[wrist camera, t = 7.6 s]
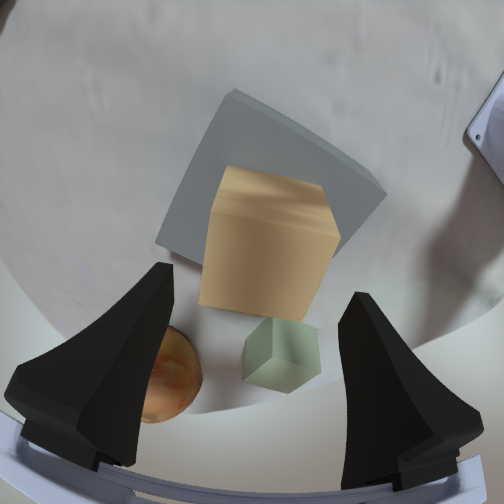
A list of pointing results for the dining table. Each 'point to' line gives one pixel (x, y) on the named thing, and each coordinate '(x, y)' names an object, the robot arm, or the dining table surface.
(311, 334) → the sage cube
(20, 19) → the dining table surface
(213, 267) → the oak cube
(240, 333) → the dining table surface
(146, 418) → the onion
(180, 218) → the slate block
